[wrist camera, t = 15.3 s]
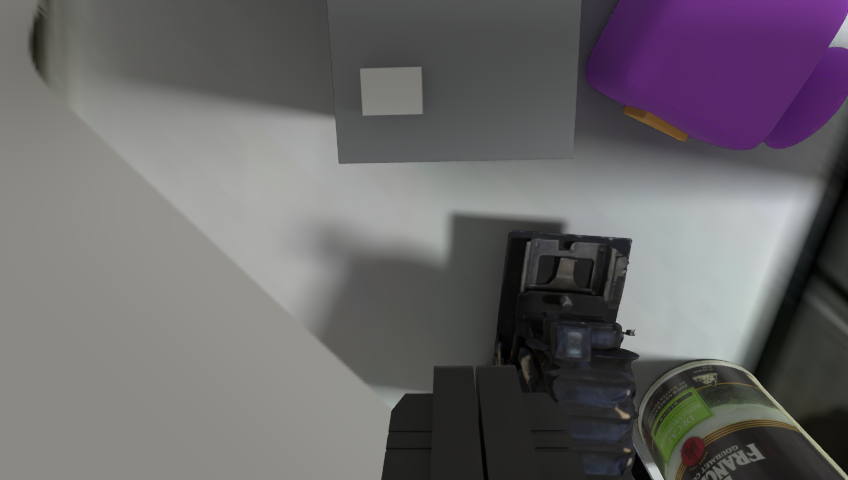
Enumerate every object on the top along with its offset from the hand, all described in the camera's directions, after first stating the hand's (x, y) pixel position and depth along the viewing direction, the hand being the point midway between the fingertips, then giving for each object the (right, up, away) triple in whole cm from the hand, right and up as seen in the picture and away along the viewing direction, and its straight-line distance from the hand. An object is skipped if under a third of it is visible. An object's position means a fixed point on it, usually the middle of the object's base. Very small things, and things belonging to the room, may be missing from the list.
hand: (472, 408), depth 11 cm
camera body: (+1, +18, +27) cm, 32 cm away
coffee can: (+22, -11, +36) cm, 43 cm away
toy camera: (+17, +16, +27) cm, 36 cm away
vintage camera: (+8, -3, +33) cm, 35 cm away
